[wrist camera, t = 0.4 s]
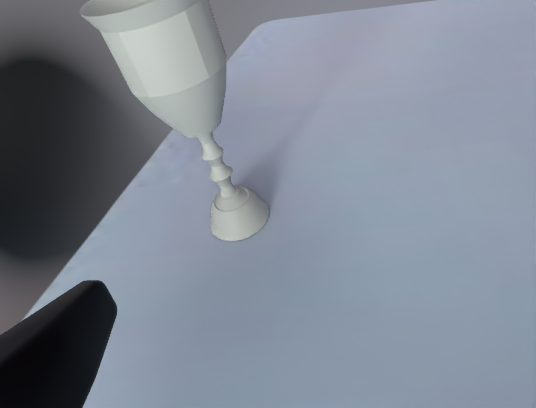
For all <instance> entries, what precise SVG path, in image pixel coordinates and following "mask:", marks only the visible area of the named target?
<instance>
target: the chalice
mask: <svg viewBox="0 0 536 408" xmlns="http://www.w3.org/2000/svg"><path fill="white" fill-rule="evenodd" d="M80 15H81V16H82V17H84V18H85V19H86V20H87V21H89V22H90V23H91V24H92V25H93V26H95V27H96V28H97V29H98V30H100V32H101V34H102V36H103V37H104V39H105V41H106V43H107V45H108V47H109V49H110V51H111V53H112V55H113V57H114V59H115V61H116V62H117V64H118V66H119V69H120V70H121V72H122V74H123V76H124V78H125V80H126V82H127V84H128V86H129V88H130V90H131V92H132V93H133V94H134V95H135V96H136V97H137V98H138V99H139V100H140V101H141V102H142V103H143V104H144V105H145V106H146V107H147V108H148V109H149V110H150V111H152V113H153V114H155V115H156V116H157V117H159V118H160V119H161V120H163V121H164V122H165V123H167V124H168V125H169V126H171V127H172V128H173V129H175V130H176V131H177V132H179V133H180V134H181V135H183V136H184V137H188V138H194V137H197V138H198V139H199V141H200V142H201V145H202V151H203V153H202V159H203V160H205V161H207V162H208V163H209V164H210V165H211V173H210V175H209V178H210V179H211V180H212V181H216V182H217V184H218V185H219V186H220V192H219V193H218V194H217V195H216V197H215V199H214V201H213V203H212V205H211V221H210V229H211V231H212V234H214V235H215V236H216V237H217V238H219V239H221V240H224V241H238V240H243V239H246V238H248V237H250V236H252V235H254V234H255V233H257V232H258V231H259V230H261V229H262V227H263V226H264V225H265V223H266V222H267V220H268V217H269V208H268V206H267V205H266V203H265V202H264V201H262V200H261V199H260V198H259V197H258V196H257V195H255V194H254V192H253V191H252V190H250V189H248V188H245V187H242V186H233V184H232V183H231V178H230V175H231V173H232V168H231V167H229V166H226V165H225V164H224V162H223V161H222V154H223V148H221V147H219V146H218V145H217V143H216V142H215V140H214V139H213V134H212V131H213V130H215V129H216V128H217V127H218V126H219V124H220V123H221V117H222V110H223V104H224V97H225V90H226V52H225V49H224V46H223V43H222V40H221V37H220V34H219V31H218V28H217V25H216V22H215V18H214V15H213V13H212V9H211V6H210V3H209V0H90V1H89V2H87V3H85V4H84V6H83V7H82V8H81V9H80Z"/></svg>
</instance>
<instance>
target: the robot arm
mask: <svg viewBox="0 0 536 408" xmlns="http://www.w3.org/2000/svg"><path fill="white" fill-rule="evenodd" d="M116 316H117V306H116V303H115V301H114V300H113V298H112V296H111V294H110V293H109V291H108V289H107V287H106V286H105V284H104V283H103V282H102V281H99V280H87V281H83V282H81V283H79V284H78V285H76V286H75V287H73V288H72V289H70V290H69V291H67V292H66V293H64V294H63V295H61V296H59V297H58V298H56V299H55V300H53V301H52V302H50V303H49V304H47V305H46V306H44V307H43V308H41V309H40V310H38V311H37V312H35V313H34V314H32V315H31V316H29V317H28V318H26V319H24V320H23V321H21V322H20V323H18V324H17V325H15V326H14V327H13V328H11V329H10V330H8V331H6V332H5V333H3V334H2V335H0V408H83V405H84V403H85V401H86V399H87V396H88V394H89V392H90V390H91V387H92V385H93V382H94V380H95V378H96V375H97V372H98V369H99V366H100V363H101V360H102V358H103V355H104V352H105V349H106V346H107V343H108V340H109V337H110V334H111V331H112V328H113V325H114V322H115V319H116Z"/></svg>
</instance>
